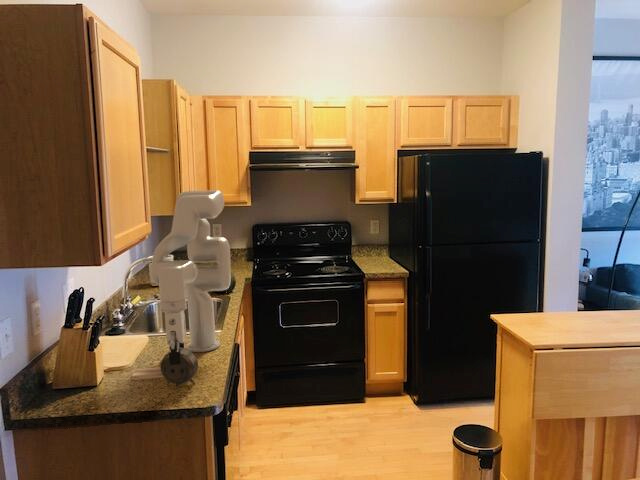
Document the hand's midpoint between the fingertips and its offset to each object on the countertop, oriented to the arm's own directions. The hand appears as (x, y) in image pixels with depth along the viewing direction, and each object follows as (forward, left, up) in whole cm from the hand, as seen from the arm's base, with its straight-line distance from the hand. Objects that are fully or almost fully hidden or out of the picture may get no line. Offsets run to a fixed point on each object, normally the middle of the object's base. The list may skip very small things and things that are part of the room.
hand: (177, 358), depth 145 cm
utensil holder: (-147, -27, -10) cm, 150 cm away
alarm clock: (-1, 0, -10) cm, 10 cm away
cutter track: (-11, -8, -9) cm, 17 cm away
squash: (-118, +10, -10) cm, 119 cm away
